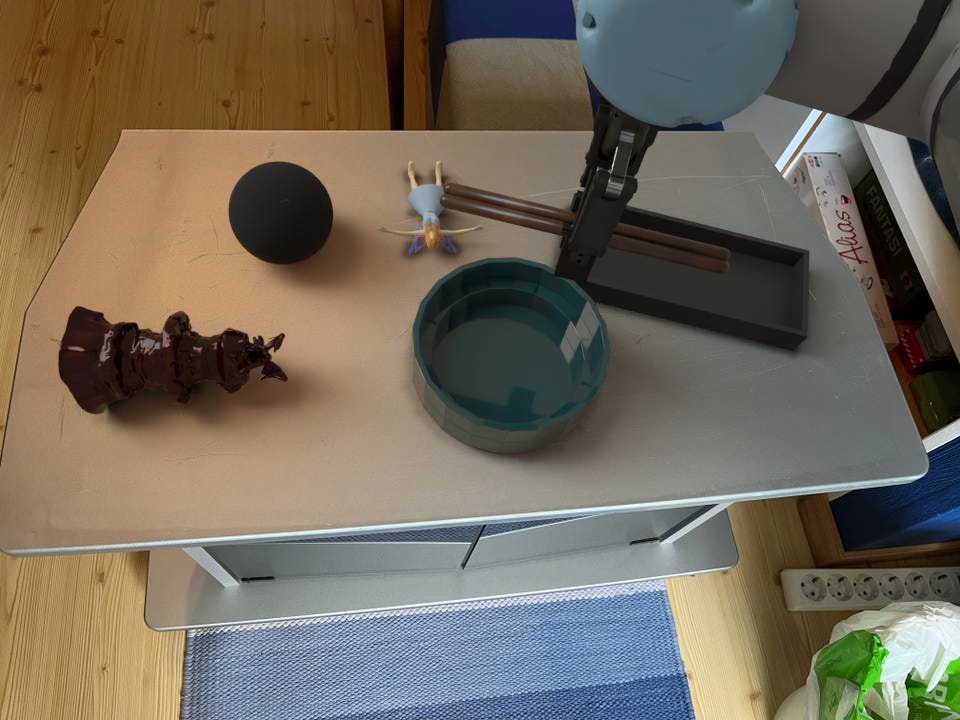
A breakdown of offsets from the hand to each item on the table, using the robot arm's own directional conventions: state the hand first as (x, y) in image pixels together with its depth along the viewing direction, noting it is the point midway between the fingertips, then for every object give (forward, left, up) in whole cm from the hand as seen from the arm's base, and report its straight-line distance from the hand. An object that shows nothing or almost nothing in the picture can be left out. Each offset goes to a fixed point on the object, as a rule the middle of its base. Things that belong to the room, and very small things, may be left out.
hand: (573, 261), depth 62 cm
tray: (+12, -13, -15) cm, 23 cm away
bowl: (-4, +3, -15) cm, 16 cm away
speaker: (+4, +28, -15) cm, 32 cm away
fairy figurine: (+12, +15, -15) cm, 25 cm away
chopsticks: (0, 0, +4) cm, 4 cm away
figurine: (-13, +31, -15) cm, 37 cm away
